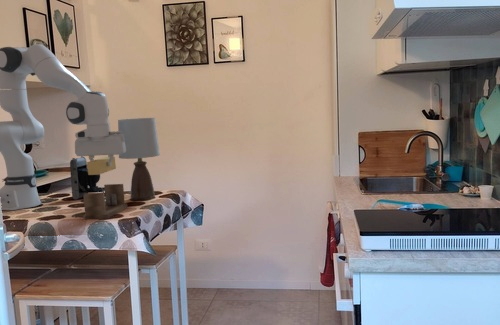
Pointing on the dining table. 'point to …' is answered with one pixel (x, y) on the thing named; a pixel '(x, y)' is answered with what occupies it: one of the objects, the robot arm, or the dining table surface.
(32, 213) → the dining table surface
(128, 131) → the lamp
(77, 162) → the vintage camera
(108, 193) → the brown u-shaped block
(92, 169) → the plank
